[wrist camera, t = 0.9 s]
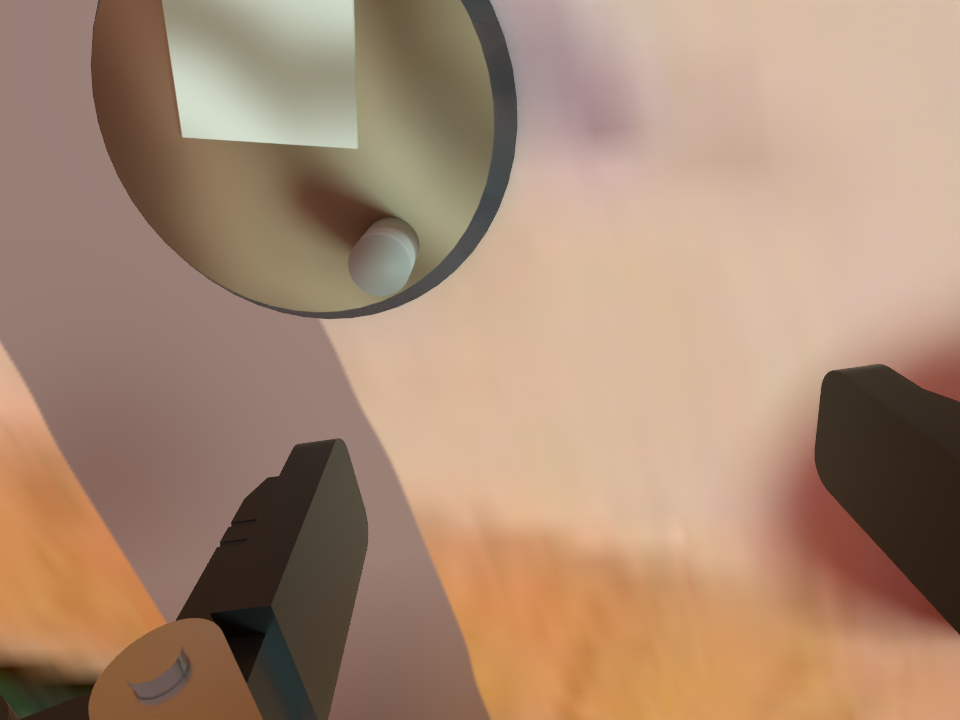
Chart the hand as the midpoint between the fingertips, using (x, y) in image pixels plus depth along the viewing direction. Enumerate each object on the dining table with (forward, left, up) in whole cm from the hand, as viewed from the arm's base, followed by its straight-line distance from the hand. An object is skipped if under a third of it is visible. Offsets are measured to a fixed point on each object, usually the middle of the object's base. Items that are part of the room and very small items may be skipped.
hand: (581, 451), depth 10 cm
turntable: (+5, -9, -19) cm, 22 cm away
